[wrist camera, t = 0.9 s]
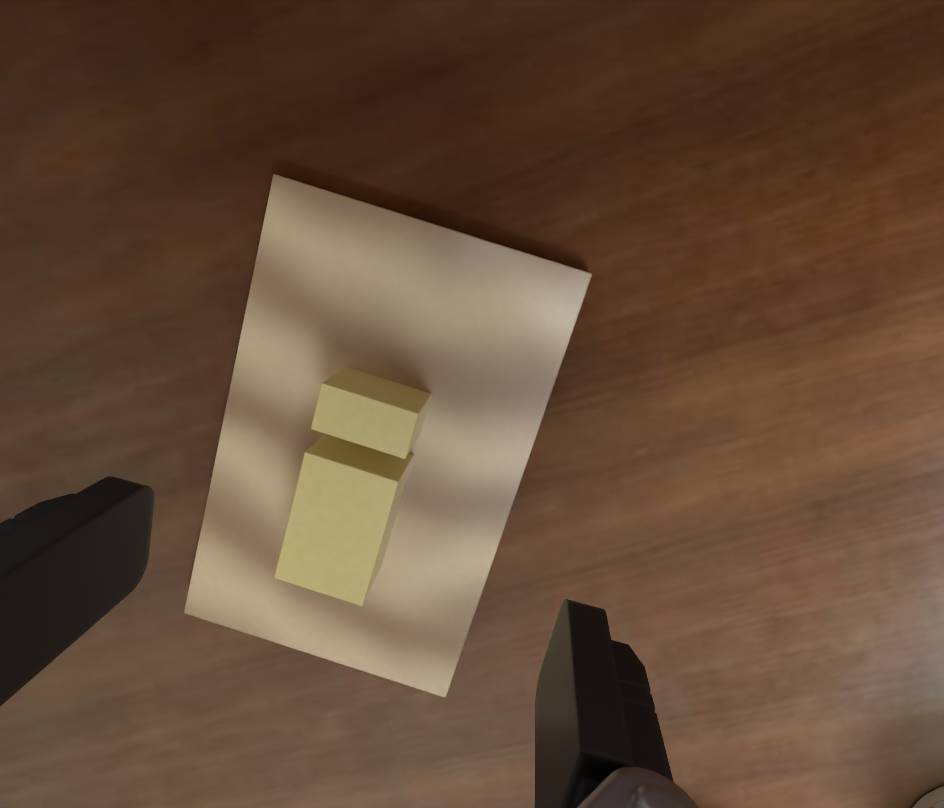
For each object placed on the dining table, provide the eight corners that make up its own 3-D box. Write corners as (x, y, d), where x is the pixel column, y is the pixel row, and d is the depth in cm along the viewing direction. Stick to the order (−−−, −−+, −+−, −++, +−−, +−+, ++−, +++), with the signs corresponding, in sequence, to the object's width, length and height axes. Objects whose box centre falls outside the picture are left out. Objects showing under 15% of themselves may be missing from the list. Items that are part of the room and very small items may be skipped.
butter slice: (346, 366, 28) (321, 382, 24) (432, 393, 28) (418, 413, 24) (336, 407, 28) (309, 429, 25) (420, 434, 28) (405, 459, 25)
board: (286, 177, 27) (272, 173, 26) (589, 272, 27) (592, 273, 26) (198, 597, 33) (183, 613, 31) (449, 678, 33) (445, 698, 31)
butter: (331, 427, 28) (304, 451, 25) (414, 454, 28) (398, 481, 25) (302, 541, 30) (273, 578, 26) (381, 566, 30) (362, 606, 26)
